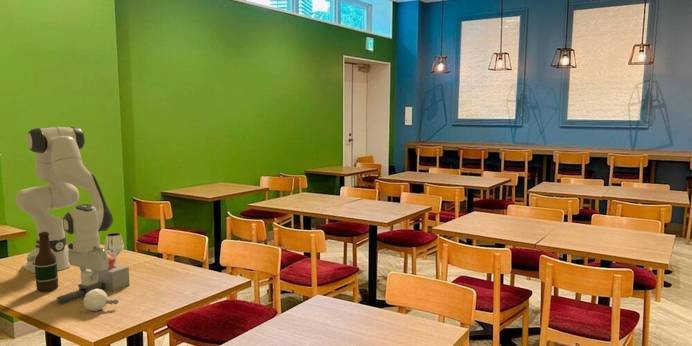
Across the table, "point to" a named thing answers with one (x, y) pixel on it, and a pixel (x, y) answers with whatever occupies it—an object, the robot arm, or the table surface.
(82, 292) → the rail
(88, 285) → the cream box
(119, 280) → the grey holed block
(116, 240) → the wineglass
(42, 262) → the beer bottle
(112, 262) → the plunger
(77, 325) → the table surface
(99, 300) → the perfume bottle
